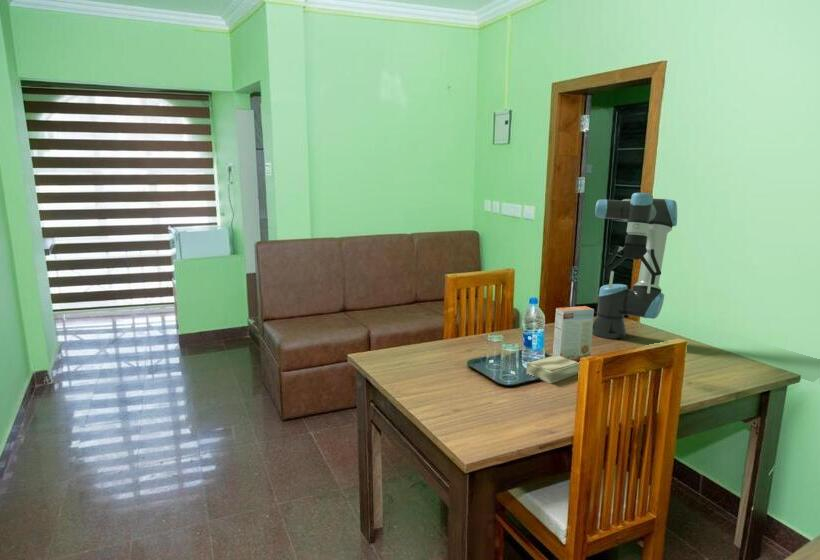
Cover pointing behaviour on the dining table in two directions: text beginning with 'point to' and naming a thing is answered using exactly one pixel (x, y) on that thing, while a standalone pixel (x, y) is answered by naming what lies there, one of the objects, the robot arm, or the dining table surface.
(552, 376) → the stack of paper napkins
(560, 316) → the cracker box
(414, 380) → the dining table surface
